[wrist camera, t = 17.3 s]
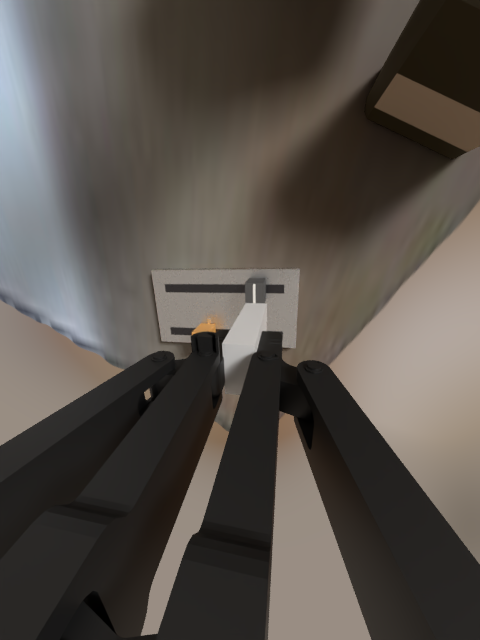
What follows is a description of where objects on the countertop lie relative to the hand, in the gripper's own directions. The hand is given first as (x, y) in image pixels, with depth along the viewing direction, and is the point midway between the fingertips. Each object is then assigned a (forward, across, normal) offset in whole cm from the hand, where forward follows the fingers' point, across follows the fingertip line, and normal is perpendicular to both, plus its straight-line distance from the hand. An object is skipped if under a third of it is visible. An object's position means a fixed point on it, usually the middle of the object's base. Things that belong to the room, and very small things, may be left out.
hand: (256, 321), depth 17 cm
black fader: (+26, -3, -4) cm, 27 cm away
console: (+28, -10, -8) cm, 31 cm away
